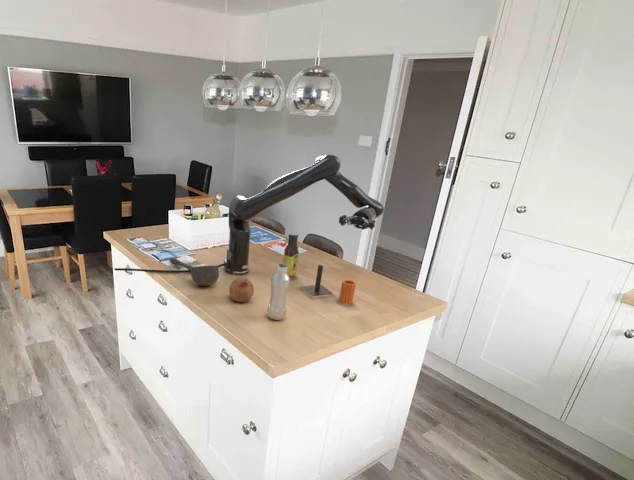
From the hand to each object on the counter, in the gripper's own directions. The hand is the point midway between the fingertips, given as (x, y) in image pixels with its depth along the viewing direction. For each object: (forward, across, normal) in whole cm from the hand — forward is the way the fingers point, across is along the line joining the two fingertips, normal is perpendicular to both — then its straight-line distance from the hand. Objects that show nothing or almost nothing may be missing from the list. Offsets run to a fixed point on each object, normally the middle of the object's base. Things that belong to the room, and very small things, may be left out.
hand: (352, 225), depth 167 cm
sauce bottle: (+2, -24, +28) cm, 37 cm away
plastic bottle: (+42, -11, +28) cm, 52 cm away
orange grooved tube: (+13, +6, +28) cm, 31 cm away
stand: (+10, -7, +28) cm, 31 cm away
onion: (+37, -29, +28) cm, 54 cm away
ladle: (+27, -60, +28) cm, 72 cm away
